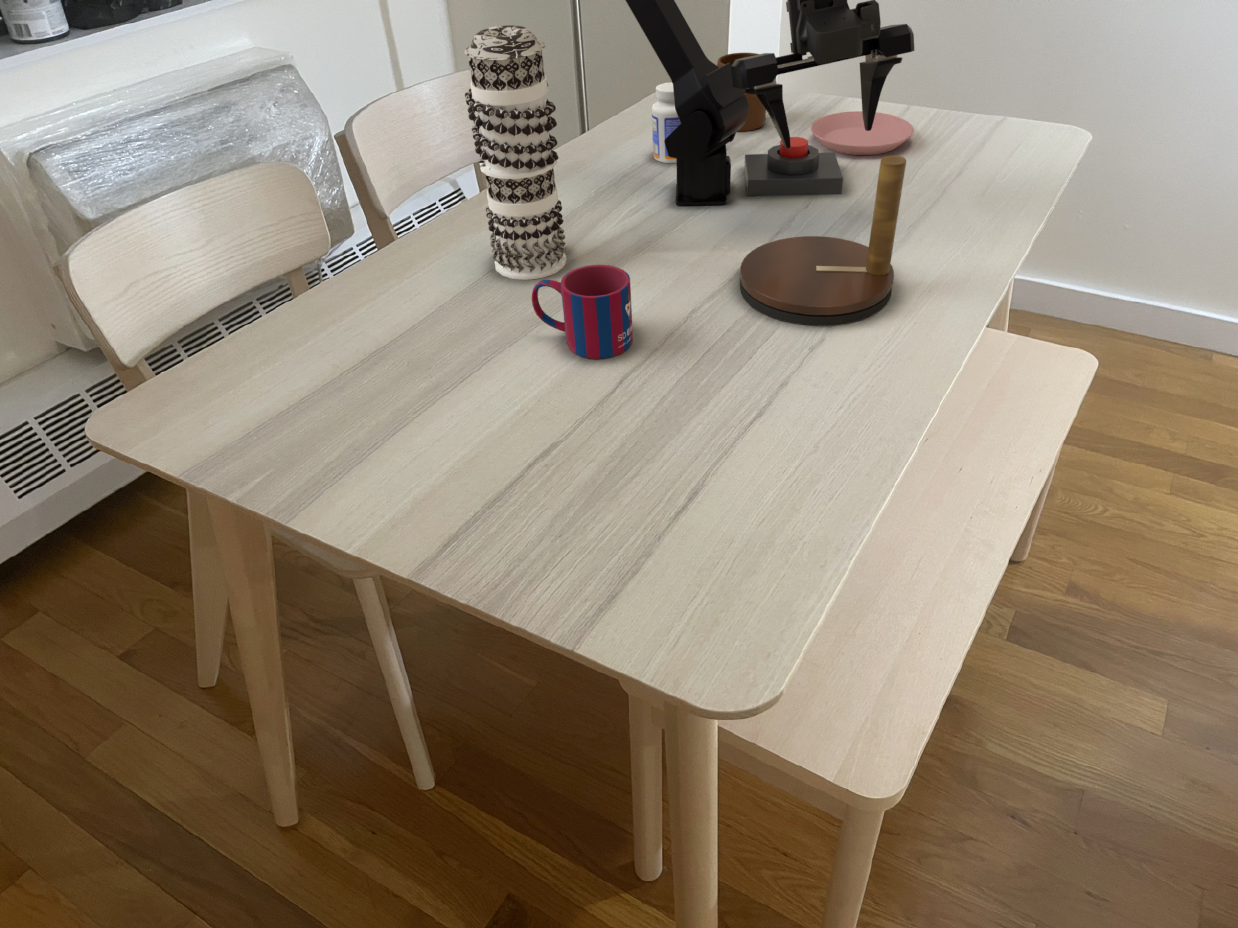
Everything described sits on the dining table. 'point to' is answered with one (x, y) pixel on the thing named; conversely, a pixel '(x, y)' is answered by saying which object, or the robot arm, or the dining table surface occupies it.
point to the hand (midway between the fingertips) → (828, 139)
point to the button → (795, 148)
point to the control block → (792, 174)
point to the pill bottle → (663, 121)
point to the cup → (592, 310)
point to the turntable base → (813, 319)
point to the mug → (747, 97)
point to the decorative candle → (516, 151)
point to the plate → (861, 133)
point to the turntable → (831, 261)
